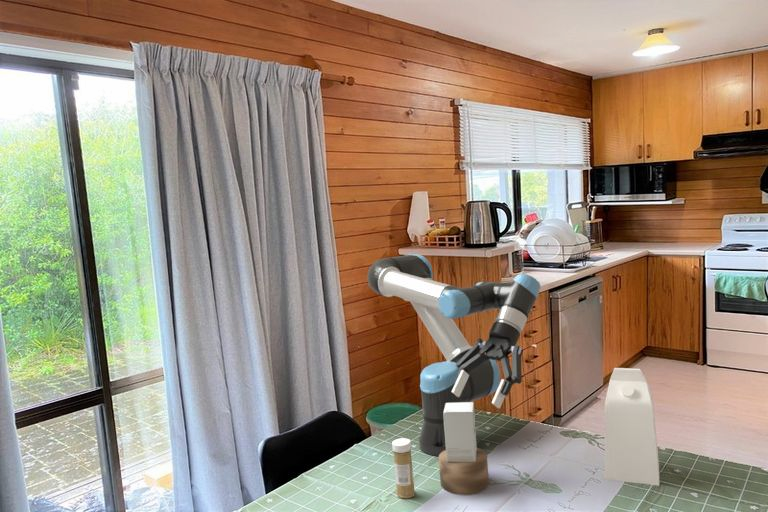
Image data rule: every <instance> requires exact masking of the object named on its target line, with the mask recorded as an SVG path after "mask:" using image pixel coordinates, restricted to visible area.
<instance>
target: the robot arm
mask: <svg viewBox="0 0 768 512" xmlns="http://www.w3.org/2000/svg"><path fill="white" fill-rule="evenodd" d="M366 278H367V284H368V286H369V287H370V289H371V290H372V291H373V292H374V293H376V294H378V295H381V296H384V297H388V298H391V297H393V296H395V297H398V298H400V299H403V301H406V302H410V304H411V305H412V308H414V311H415V312H416V313H417V315H418V317H419V318H420V320H421V321H422V324H424V326H425V328H426V329H427V331H428V332H429V334H430V336H431V337H432V339H433V341H434V343H435V345H436V347H437V348H438V349H439V351H440V352H441V353H442V355H443V357H444V358H445V361H441V362H435V363H431V364H430V365H427V366H425V367H424V368H423V369H422V371H421V372H420V383H419V387H420V395H421V406H422V407H421V408H422V409H421V410H422V418H423V419H422V425H421V430H420V433H419V437H418V446H419V449H420V451H422V452H423V453H425V454H428V455H431V456H435V457H436V456H437V457H439V454H440V453H441V452H443V451H444V450H446V445H445V431H444V417H443V412H444V408H445V404H446V403H459V402H474V401H477V400H479V399H484V398H487V397H488V396H489V395H491V394H494V393H495V394H494V396H493V398H492V401H491V404H492V405H493V406H494V407H495V408H497V409H501V407H502V404H503V403H504V400H505V397H507V396H509V393H510V392H511V389H512V386H513V385H514V384H518V385H520V384H521V383H522V356H523V352H524V350H523V348H522V347H521V346H520V345H519V344H517V343H518V341H519V340H520V336H521V333H522V332H523V329H524V327H525V325H526V323H527V321H528V318H529V315H530V313H531V311H532V309H533V308H534V305H535V303H536V301H537V300H538V296H539V293H540V290H541V284H540V282H539V281H538V280H537V278H534V276H532V275H529V274H526V273H518V274H517V275H515V277H514V279H513V280H512V282H497V281H496V282H494V281H489V280H488V281H480V282H477V283H476V284H475V285H472V286H467V287H459V286H454V285H451V284H447V283H443V282H440V281H435V280H433V278H434V272H433V267H432V264H431V263H430V261H429V260H428V259H427V258H426V257H425V256H423V255H422V254H417V253H415V254H413V253H411V254H404V255H399V256H392V257H385V258H380V259H378V260H376V261H375V262H373V263H372V264H371V265H370V267H369V268H368V271H367V277H366ZM493 310H499V311H498V313H497V316H496V317H495V319H494V322H493V323H492V326H491V327H490V330H489V333H488V335H489V336H488V339H487V340H486V341H485V340H483V339H482V338H480V337H479V338H477V339H476V341H475V343H474V344H473V346H472V345H470V344H469V342H468V341H467V339H466V338H465V336H464V334H463V333H462V332H461V330H460V329H459V327H458V326H457V324H456V322H455V321H454V319H462V318H464V317H468V316H471V315H475V314H479V313H483V312H484V313H485V312H487V311H493ZM509 355H511V361H510V357H509ZM496 361H498V362H500V363H501V368H502V371H503V375H504V379H503V378H501V371H500V367H499V364H498V363H497V362H496ZM500 378H501V379H500Z"/></svg>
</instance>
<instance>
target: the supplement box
mask: <svg viewBox="0 0 768 512" xmlns="http://www.w3.org/2000/svg"><path fill="white" fill-rule="evenodd" d="M474 404H475V403H474V401H472V402H459V403H446V404H445V408H444V412H443V417H444V431H445V445H446V459H447V462H476V451H477V448H478V447H477V446H478V445H477V432H476V419H475V418H476V417H475V405H474Z"/></svg>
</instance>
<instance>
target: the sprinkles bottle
mask: <svg viewBox="0 0 768 512" xmlns="http://www.w3.org/2000/svg"><path fill="white" fill-rule="evenodd" d="M391 443H392V444H391V445H392V446H391V447H392V452H393V460H394V461H393V464H394V474H395V484H396V496H397V497H398V498H400V499H404V498H405V499H410V498H412V497H414V496H415V494H416V491H415V483H414V482H415V480H414V478H415V477H414V469H413V462H412V461H413V460H412V459H413V458H412V441H411V440H410V439H408V438H397V439H395V440H392V442H391Z"/></svg>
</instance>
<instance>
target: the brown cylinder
mask: <svg viewBox="0 0 768 512" xmlns="http://www.w3.org/2000/svg"><path fill="white" fill-rule="evenodd" d="M438 467H439V478H440V479H439V481H440V487H441V488H442V489H443V490H444V491H446V492H448V493H450V494H455V495H462V496H463V495H465V496H467V495H468V496H469V495H474V494H478V493H482V492H483V491H484V490H486V489H487V488H488V487H489V485H490V481H489V480H490V479H489V468H488V467H489V462H488V454H487V453H486V452H485V450H483V449H481V448H478V447H477V451H476V462H447V459H446V450H444V451H443V452H441V453H440V454H439V456H438Z"/></svg>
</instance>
